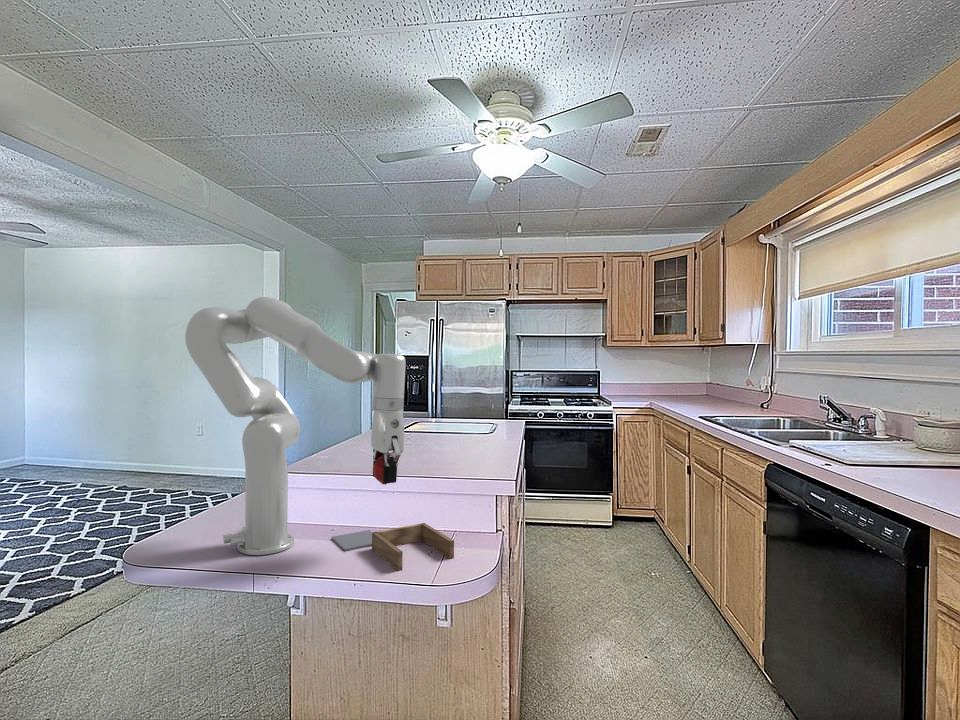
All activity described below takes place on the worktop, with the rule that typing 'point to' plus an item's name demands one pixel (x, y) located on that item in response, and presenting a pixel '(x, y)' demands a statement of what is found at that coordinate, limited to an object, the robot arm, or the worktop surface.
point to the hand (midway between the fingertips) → (384, 478)
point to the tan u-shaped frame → (391, 538)
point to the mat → (354, 540)
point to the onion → (379, 468)
